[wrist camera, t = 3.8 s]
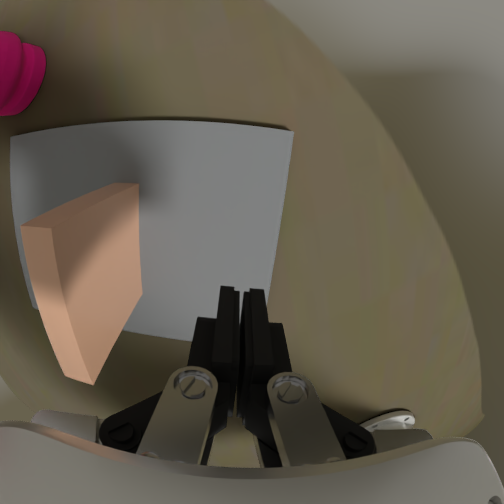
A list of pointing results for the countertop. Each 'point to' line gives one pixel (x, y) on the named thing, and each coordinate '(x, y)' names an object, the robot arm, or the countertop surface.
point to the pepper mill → (19, 73)
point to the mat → (168, 205)
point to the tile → (86, 274)
